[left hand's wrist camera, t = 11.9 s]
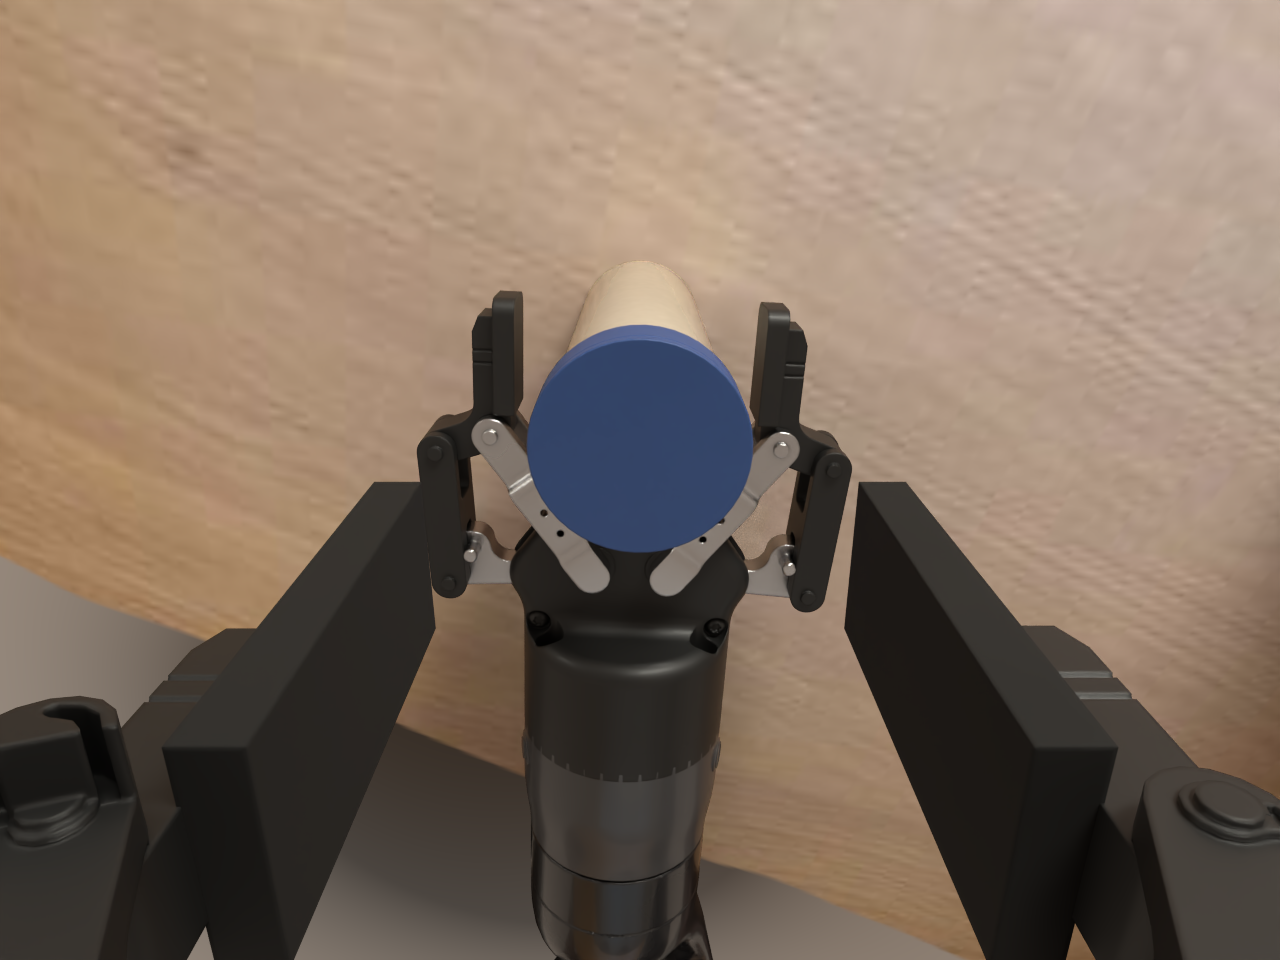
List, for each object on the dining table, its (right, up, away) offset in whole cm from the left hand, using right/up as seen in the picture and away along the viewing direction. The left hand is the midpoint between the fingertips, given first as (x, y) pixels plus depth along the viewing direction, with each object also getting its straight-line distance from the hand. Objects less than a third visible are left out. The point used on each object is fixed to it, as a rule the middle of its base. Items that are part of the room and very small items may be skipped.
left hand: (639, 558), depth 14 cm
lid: (0, +2, +5) cm, 6 cm away
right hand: (0, +7, +13) cm, 15 cm away
